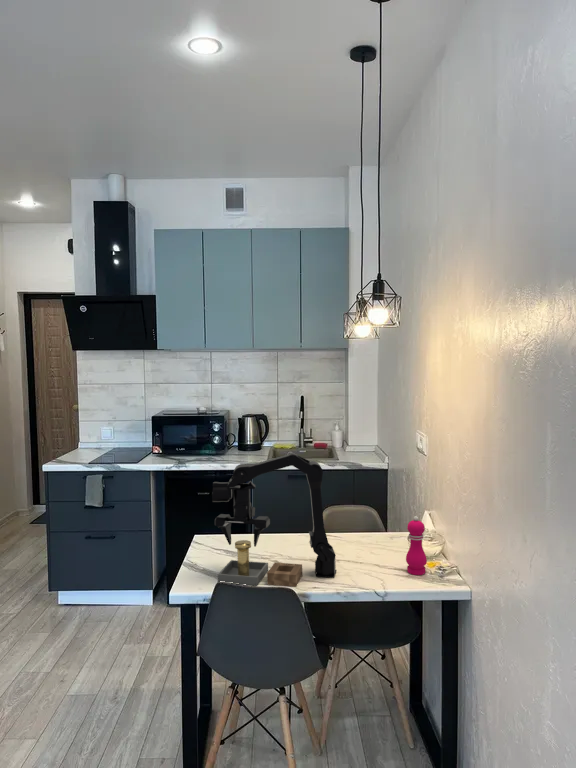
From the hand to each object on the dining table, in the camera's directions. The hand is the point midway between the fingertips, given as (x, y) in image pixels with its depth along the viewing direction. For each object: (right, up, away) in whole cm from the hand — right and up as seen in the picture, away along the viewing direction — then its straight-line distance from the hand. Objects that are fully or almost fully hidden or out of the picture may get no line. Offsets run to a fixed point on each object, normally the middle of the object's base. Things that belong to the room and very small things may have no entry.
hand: (242, 545), depth 193 cm
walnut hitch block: (+15, -11, -3) cm, 19 cm away
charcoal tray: (0, -11, 0) cm, 11 cm away
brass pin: (0, -11, 0) cm, 11 cm away
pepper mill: (+61, -10, +2) cm, 62 cm away
